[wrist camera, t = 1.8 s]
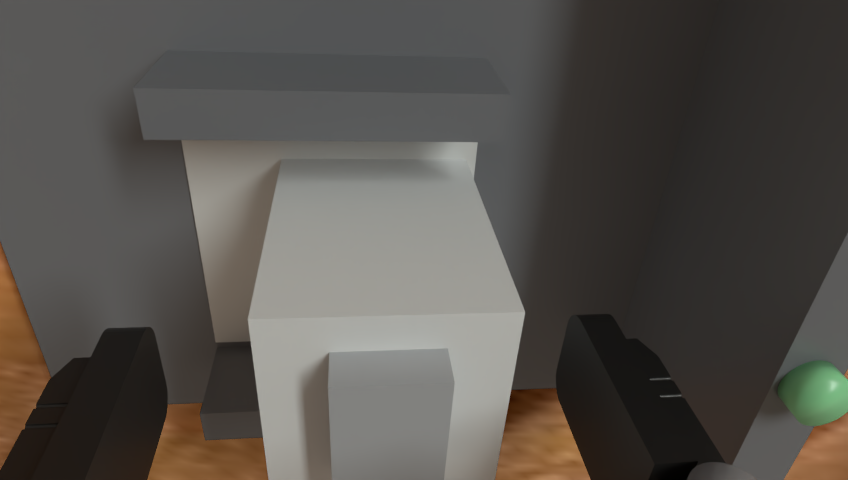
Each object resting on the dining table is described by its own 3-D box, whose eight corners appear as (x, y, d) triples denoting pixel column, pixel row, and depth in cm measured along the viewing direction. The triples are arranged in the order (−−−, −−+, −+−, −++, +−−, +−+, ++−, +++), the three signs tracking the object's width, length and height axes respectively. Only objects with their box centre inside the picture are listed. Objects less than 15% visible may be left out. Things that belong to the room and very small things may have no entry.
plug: (466, 159, 15) (537, 344, 9) (451, 302, 18) (502, 518, 12) (281, 158, 15) (240, 355, 9) (293, 306, 17) (266, 534, 11)
